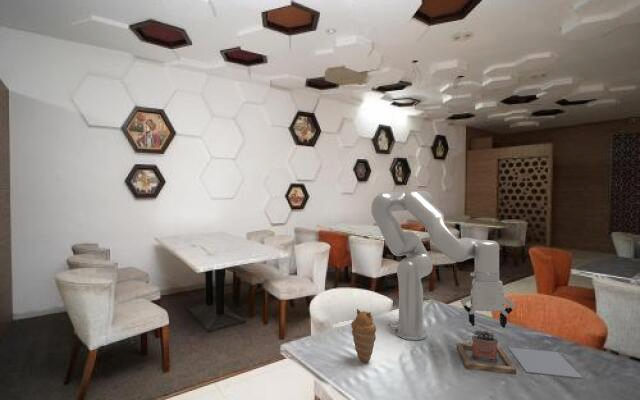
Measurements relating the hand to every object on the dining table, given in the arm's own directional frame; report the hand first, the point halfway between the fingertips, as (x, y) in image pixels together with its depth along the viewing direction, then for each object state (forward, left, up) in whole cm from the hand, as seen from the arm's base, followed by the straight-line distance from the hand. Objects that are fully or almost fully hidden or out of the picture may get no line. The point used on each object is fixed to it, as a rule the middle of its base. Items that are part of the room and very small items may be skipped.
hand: (487, 325), depth 112 cm
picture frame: (-1, 0, -12) cm, 12 cm away
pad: (+18, +2, -12) cm, 22 cm away
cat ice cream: (-42, -10, -13) cm, 44 cm away
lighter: (-1, 0, -13) cm, 13 cm away
